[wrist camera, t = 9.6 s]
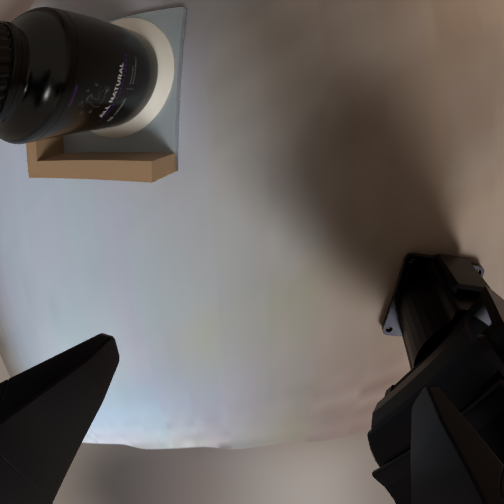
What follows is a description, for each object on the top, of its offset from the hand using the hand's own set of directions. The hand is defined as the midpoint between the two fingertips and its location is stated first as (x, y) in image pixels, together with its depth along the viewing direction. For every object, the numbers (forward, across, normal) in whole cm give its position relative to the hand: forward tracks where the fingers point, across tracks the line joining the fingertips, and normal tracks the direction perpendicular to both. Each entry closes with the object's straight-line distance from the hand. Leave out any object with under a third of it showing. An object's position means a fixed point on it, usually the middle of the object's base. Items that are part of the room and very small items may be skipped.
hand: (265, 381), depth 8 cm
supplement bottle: (+13, +12, -9) cm, 20 cm away
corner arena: (+13, +13, -8) cm, 20 cm away
